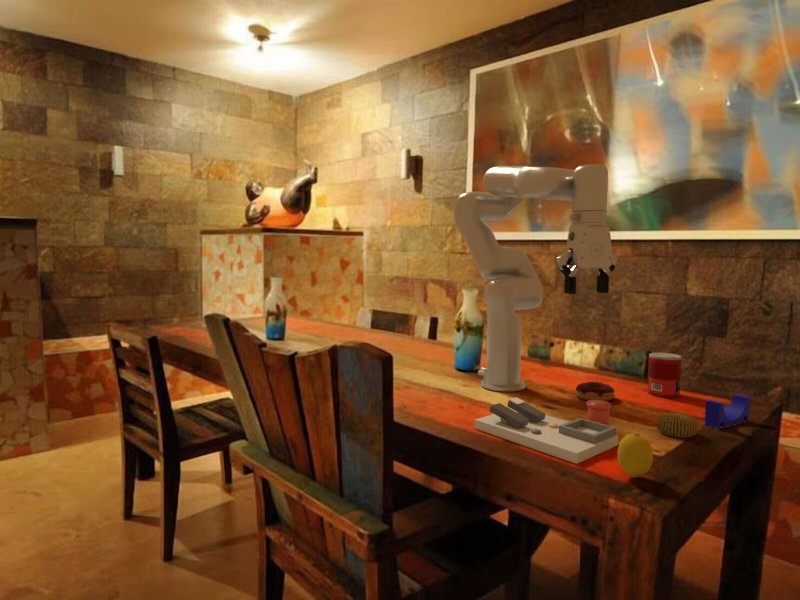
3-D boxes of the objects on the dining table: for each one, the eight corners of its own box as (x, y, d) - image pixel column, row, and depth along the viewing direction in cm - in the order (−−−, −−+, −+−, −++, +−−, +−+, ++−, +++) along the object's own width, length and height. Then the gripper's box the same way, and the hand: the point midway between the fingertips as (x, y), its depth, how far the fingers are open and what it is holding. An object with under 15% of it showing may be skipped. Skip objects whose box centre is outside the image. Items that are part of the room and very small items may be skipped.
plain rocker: (488, 415, 115) (490, 405, 114) (497, 412, 117) (499, 403, 116) (517, 432, 109) (519, 422, 108) (526, 428, 111) (528, 419, 110)
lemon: (610, 471, 93) (612, 427, 92) (640, 470, 93) (642, 426, 93) (626, 485, 88) (628, 438, 87) (658, 484, 88) (660, 437, 87)
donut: (597, 392, 147) (598, 378, 146) (623, 401, 137) (623, 387, 137) (567, 395, 144) (567, 381, 143) (591, 405, 134) (591, 390, 134)
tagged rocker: (506, 410, 118) (508, 399, 118) (514, 407, 120) (517, 397, 120) (535, 426, 113) (537, 415, 112) (543, 423, 114) (546, 412, 114)
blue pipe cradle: (728, 417, 125) (730, 392, 124) (748, 422, 121) (750, 397, 121) (698, 424, 119) (699, 398, 119) (718, 430, 115) (719, 403, 115)
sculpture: (688, 424, 107) (649, 414, 113) (687, 443, 107) (648, 433, 113) (705, 417, 112) (667, 408, 118) (704, 435, 112) (666, 425, 118)
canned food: (683, 399, 140) (685, 358, 139) (651, 397, 141) (653, 357, 140) (674, 391, 147) (676, 353, 146) (644, 390, 149) (645, 351, 148)
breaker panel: (474, 428, 115) (475, 412, 115) (517, 415, 125) (517, 400, 125) (576, 463, 96) (577, 445, 96) (617, 445, 106) (618, 428, 105)
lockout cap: (581, 429, 115) (582, 402, 115) (593, 424, 118) (594, 398, 118) (602, 435, 111) (603, 407, 111) (614, 430, 115) (615, 403, 114)
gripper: (570, 217, 115) (567, 295, 116) (629, 220, 121) (626, 293, 123) (548, 219, 122) (546, 293, 123) (605, 221, 128) (603, 291, 130)
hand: (586, 293), depth 123 cm, fingers open, 9 cm apart
